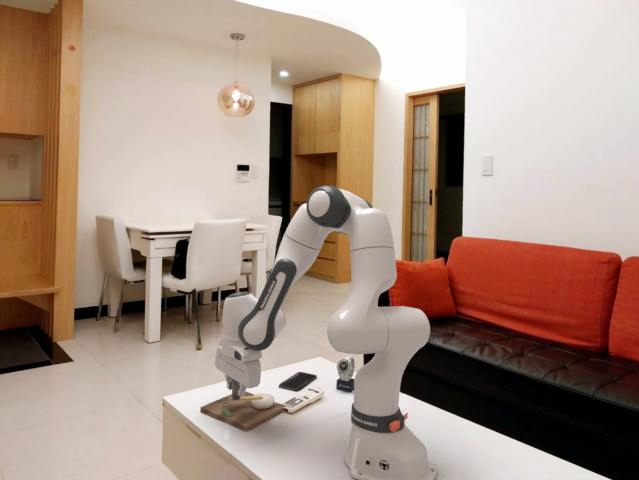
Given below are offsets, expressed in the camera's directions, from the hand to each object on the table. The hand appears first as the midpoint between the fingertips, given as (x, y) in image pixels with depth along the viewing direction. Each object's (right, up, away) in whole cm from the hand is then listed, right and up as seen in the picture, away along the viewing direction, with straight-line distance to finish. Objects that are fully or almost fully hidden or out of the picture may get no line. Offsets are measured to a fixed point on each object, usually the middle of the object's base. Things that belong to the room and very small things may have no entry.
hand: (235, 392), depth 145 cm
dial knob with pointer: (+4, -5, +3) cm, 7 cm away
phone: (+17, -5, +27) cm, 32 cm away
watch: (+34, -6, +22) cm, 41 cm away
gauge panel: (+2, -6, +3) cm, 7 cm away
